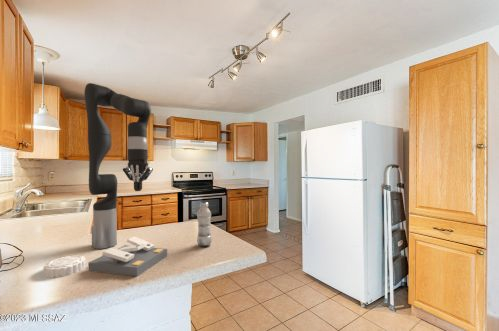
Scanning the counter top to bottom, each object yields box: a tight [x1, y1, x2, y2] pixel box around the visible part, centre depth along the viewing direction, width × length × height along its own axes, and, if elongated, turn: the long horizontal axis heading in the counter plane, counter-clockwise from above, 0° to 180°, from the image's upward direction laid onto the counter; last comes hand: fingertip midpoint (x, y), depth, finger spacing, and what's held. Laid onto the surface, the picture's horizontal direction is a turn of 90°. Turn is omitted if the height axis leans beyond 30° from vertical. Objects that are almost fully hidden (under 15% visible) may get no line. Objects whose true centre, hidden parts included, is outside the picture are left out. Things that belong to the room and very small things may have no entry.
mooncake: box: [43, 255, 87, 279], centre depth 86 cm, size 12×12×4 cm
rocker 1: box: [102, 247, 135, 262], centre depth 86 cm, size 10×4×1 cm, turn 77°
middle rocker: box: [117, 244, 145, 252], centre depth 91 cm, size 10×4×1 cm, turn 77°
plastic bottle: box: [196, 201, 213, 247], centre depth 110 cm, size 6×7×20 cm
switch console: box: [87, 244, 168, 277], centre depth 91 cm, size 20×18×4 cm
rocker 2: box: [126, 235, 155, 251], centre depth 97 cm, size 10×4×1 cm, turn 77°
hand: (138, 190), depth 97 cm, fingers closed
